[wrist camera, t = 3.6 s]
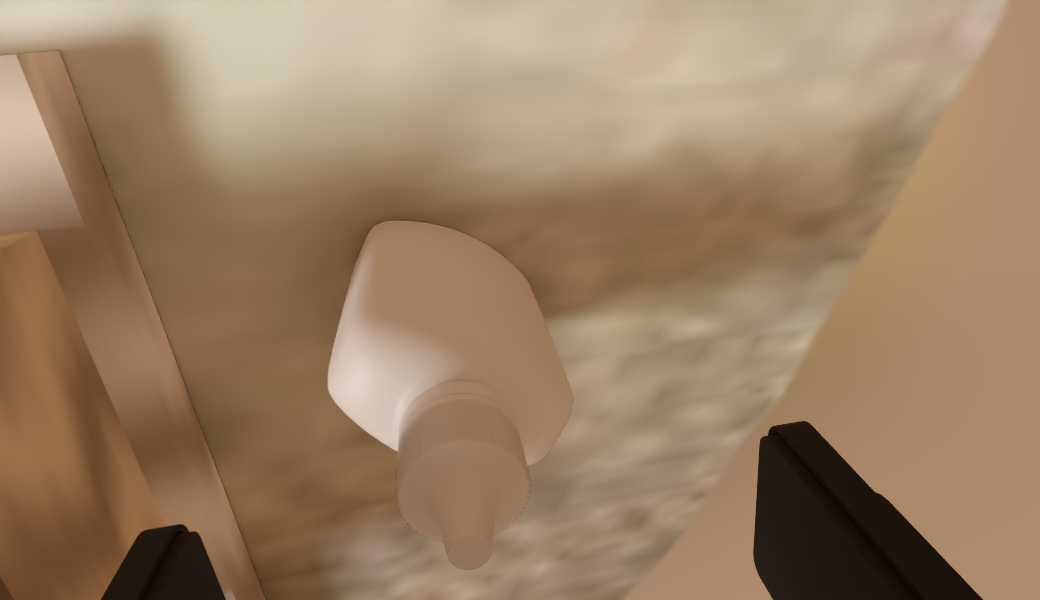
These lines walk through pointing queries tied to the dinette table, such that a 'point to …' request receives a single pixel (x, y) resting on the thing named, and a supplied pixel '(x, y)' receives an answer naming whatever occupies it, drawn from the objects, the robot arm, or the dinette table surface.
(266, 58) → the dinette table surface
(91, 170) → the display plinth
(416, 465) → the eye dropper bottle
